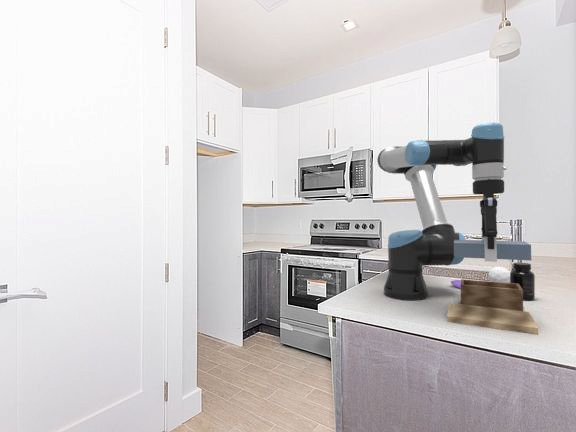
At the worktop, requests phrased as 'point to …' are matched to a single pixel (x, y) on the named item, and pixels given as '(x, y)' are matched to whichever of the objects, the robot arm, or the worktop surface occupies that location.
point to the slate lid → (504, 249)
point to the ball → (499, 275)
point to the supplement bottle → (524, 279)
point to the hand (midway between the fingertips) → (489, 258)
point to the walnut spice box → (492, 294)
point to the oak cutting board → (492, 318)
